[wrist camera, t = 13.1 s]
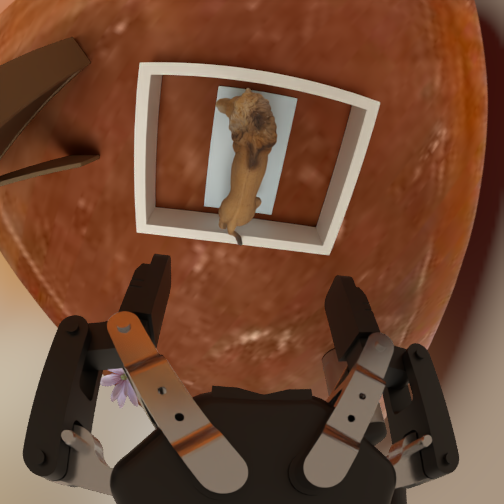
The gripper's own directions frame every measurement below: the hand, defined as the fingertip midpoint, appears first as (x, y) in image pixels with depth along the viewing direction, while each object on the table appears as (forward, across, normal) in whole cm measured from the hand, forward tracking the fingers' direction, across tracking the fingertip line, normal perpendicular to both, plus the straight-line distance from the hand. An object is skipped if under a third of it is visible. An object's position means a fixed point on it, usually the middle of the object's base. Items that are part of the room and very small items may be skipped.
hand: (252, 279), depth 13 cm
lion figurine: (+18, 0, +2) cm, 19 cm away
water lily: (+20, +20, +45) cm, 53 cm away
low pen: (+20, 0, 0) cm, 20 cm away
